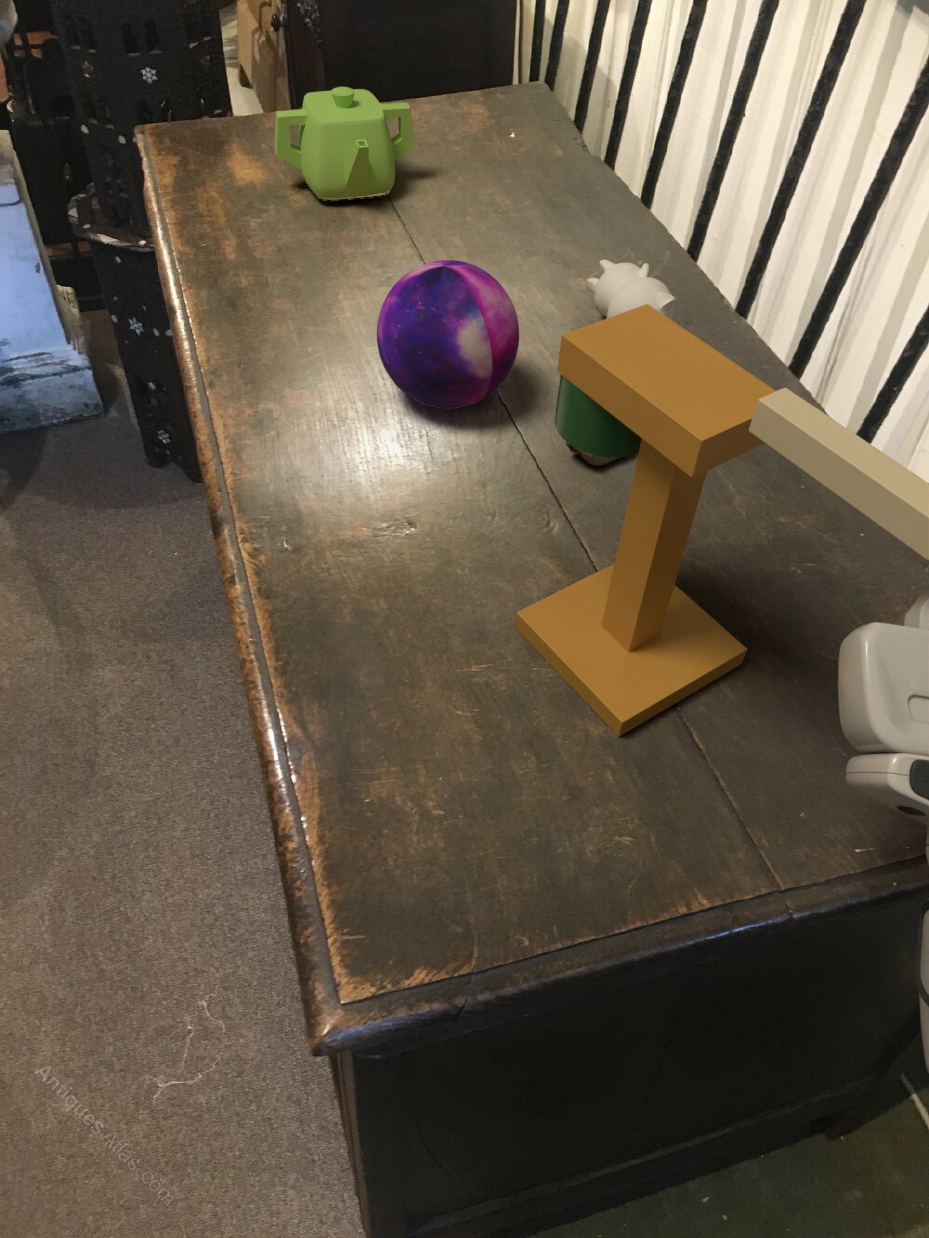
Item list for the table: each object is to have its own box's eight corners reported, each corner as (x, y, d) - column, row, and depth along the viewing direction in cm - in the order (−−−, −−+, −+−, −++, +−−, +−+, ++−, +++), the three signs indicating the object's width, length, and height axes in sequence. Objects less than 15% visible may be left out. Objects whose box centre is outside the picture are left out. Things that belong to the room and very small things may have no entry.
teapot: (433, 214, 137) (435, 117, 127) (291, 228, 132) (282, 128, 123) (402, 159, 148) (401, 66, 139) (271, 170, 144) (261, 75, 134)
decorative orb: (452, 343, 115) (457, 220, 104) (541, 402, 108) (556, 276, 97) (351, 389, 108) (344, 262, 97) (438, 455, 101) (441, 326, 90)
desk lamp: (742, 664, 83) (845, 401, 63) (618, 737, 78) (689, 475, 58) (606, 541, 93) (659, 280, 73) (487, 599, 87) (509, 333, 67)
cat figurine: (609, 234, 115) (656, 281, 107) (667, 270, 121) (716, 316, 113) (566, 298, 119) (609, 347, 111) (625, 329, 125) (669, 378, 117)
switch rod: (983, 565, 53) (1006, 527, 51) (951, 585, 52) (974, 547, 50) (775, 420, 61) (788, 383, 59) (744, 434, 60) (756, 397, 58)
